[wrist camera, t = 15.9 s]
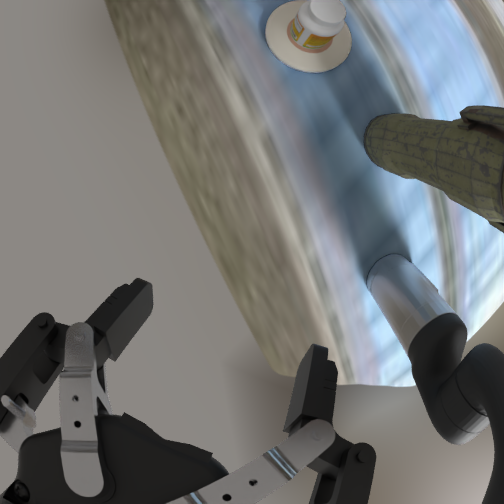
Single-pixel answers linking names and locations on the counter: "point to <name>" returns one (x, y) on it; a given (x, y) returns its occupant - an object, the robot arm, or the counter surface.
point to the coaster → (296, 54)
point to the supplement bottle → (317, 23)
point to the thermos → (447, 155)
